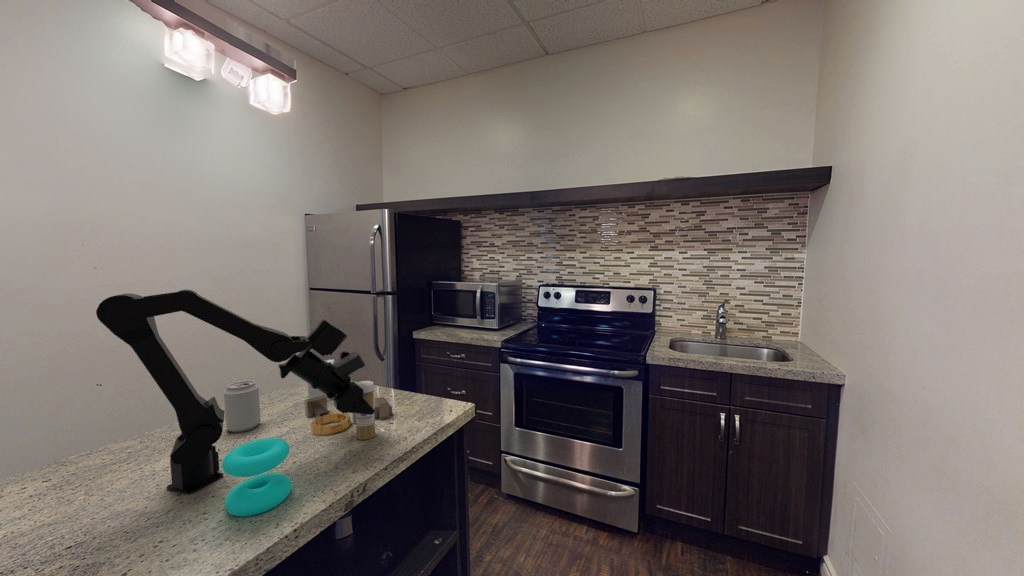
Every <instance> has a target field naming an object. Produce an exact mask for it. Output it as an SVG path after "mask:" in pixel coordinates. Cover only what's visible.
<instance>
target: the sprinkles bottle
mask: <svg viewBox="0 0 1024 576" xmlns="http://www.w3.org/2000/svg"><path fill="white" fill-rule="evenodd" d="M355 383H356V384H358V385H359V386H360V387H361V388H362V389H363V390H364V393H363V398H364V399H365V400H366V402H367V403H368V404H369V405H370V406H371V407H372V408H373V409H374V407H375V397H374V391H375V386H374V385H375V384H374V381H370V380H362V381H357V382H355ZM355 414H356V424H355V426H356V429H355V430H356V436H355V438H356V439H357V440H360V441H363V440H364V441H365V440H369V439H373V438H374V437H375V436H376V427H375V426H376V424H375V422H376V419H375V414H374V413H373V414H372V415H370V414H361V413H355Z"/></svg>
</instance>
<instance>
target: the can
mask: <svg viewBox="0 0 1024 576" xmlns="http://www.w3.org/2000/svg"><path fill="white" fill-rule="evenodd" d="M259 390H260V389H259V385H257V384H256V381H255V380H252V379H250V380H249V379H247V380H239V381H235V382H232V383H229V384H227V385H226V389H225V390H224V391H223V401H224V402H223V403H224V411H225V413H224V419H225V428H226V430H227V431H230V432H231V433H241V432H247V431H250V430H252V429H254V428H256V427H257V426H258V425H259V424H260V423H261V419H262V418H261V408H260V407H261V405H260V404H261V403H260V391H259Z"/></svg>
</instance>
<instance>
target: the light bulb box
mask: <svg viewBox="0 0 1024 576" xmlns="http://www.w3.org/2000/svg"><path fill="white" fill-rule="evenodd" d="M323 360H324V359H323ZM324 361H325V362H330V363H332V364H335V359H326V360H324ZM323 395H324V396H326V394H324V393H322V392H321V391H319V390H318V389H314V388H312V386H311V385H310V384H309V383H307V396H308V397H307V399H310V398H314V397H319V396H323ZM326 397H327V396H326ZM331 400H332V398H331V399H329V398H328V397H327V401H331Z"/></svg>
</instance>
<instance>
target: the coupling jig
mask: <svg viewBox="0 0 1024 576" xmlns="http://www.w3.org/2000/svg"><path fill="white" fill-rule="evenodd" d="M374 410H375V412H374V414H375V420H377V419H378V420H380V421H382V420H385V419H389V418H390V416H393V406H392V405H391V404H390V403H389V401H388V400H387V398H386V397H385V396H381V397H377V398H374ZM351 414H352V422H353V423H354V424H355V425H356V414H355V413H351ZM304 415H305V416H306V417H307V418H310V417H313V418H315V419H313V420H312V421H311V423H310V431H311V433H312V434H313V435H317V436H327V435H328V436H329V435H334V434H338V433H341V432H343V431H345V430H347V429H349V428H350V426H351V424H352V423H351V416H350V415H349V414H348V413H344V414H343V413H342V412H335V413H330V410H328V400H327V397H326V396H324V395H323V396H319V397H314V398H310V399H308V398H306V399H304ZM330 423H333V424H330ZM326 424H328V425H326ZM329 424H330V425H329Z"/></svg>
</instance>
